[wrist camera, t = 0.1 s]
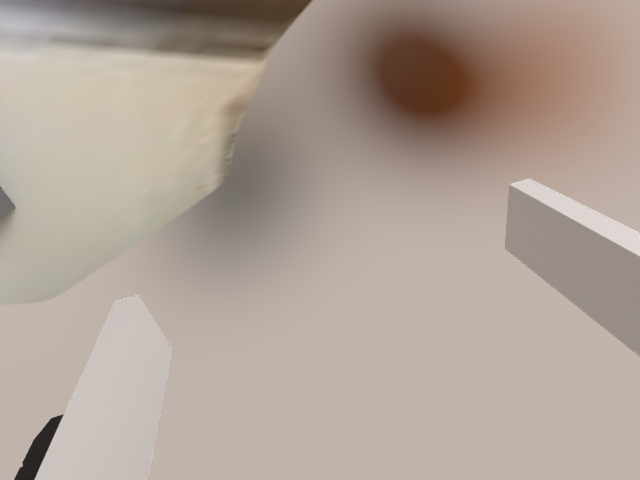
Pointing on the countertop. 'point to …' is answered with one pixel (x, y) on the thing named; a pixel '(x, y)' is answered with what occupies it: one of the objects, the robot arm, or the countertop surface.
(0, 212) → the block
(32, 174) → the countertop surface
